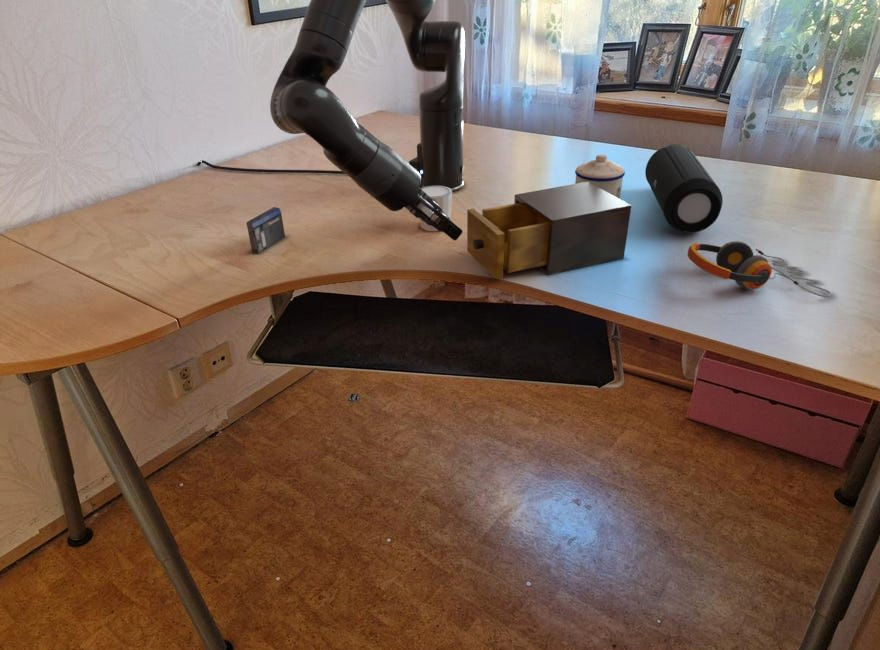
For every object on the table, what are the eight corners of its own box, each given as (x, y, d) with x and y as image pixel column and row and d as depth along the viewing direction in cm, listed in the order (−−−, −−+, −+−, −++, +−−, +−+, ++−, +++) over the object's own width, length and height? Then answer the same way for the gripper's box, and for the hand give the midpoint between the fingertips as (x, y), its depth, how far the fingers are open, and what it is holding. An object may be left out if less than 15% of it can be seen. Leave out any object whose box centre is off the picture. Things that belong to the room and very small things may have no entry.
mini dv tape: (258, 253, 122) (252, 223, 119) (252, 252, 123) (246, 222, 119) (285, 237, 128) (280, 207, 124) (279, 236, 128) (274, 206, 125)
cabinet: (548, 275, 109) (552, 220, 103) (512, 245, 119) (514, 194, 114) (623, 258, 112) (631, 205, 107) (582, 231, 123) (587, 181, 117)
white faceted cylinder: (456, 220, 130) (456, 186, 126) (447, 233, 125) (446, 198, 121) (423, 217, 132) (422, 184, 128) (413, 231, 127) (411, 196, 123)
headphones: (851, 282, 96) (728, 266, 92) (832, 314, 99) (712, 299, 95) (784, 237, 110) (676, 221, 106) (769, 266, 113) (664, 251, 109)
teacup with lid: (620, 223, 124) (629, 163, 118) (571, 222, 126) (577, 162, 120) (615, 201, 134) (623, 143, 128) (570, 200, 136) (575, 143, 129)
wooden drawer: (489, 280, 106) (490, 236, 102) (460, 252, 116) (460, 210, 111) (569, 263, 110) (573, 220, 105) (535, 237, 119) (537, 196, 115)
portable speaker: (640, 188, 139) (647, 141, 134) (688, 188, 138) (698, 140, 132) (661, 237, 118) (671, 183, 113) (719, 237, 117) (732, 183, 111)
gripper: (414, 167, 96) (488, 231, 105) (386, 144, 106) (457, 204, 116) (382, 208, 97) (458, 267, 107) (358, 181, 108) (429, 237, 117)
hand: (457, 234), depth 111 cm, fingers closed
